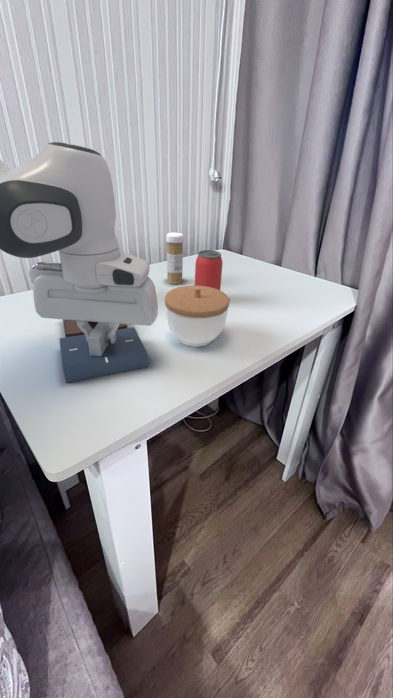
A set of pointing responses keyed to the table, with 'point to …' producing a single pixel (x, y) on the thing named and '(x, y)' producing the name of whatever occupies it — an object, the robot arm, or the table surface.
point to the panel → (113, 360)
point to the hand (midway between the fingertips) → (101, 341)
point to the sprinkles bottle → (174, 257)
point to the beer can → (208, 269)
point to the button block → (74, 330)
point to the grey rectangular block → (98, 339)
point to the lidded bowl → (196, 314)
